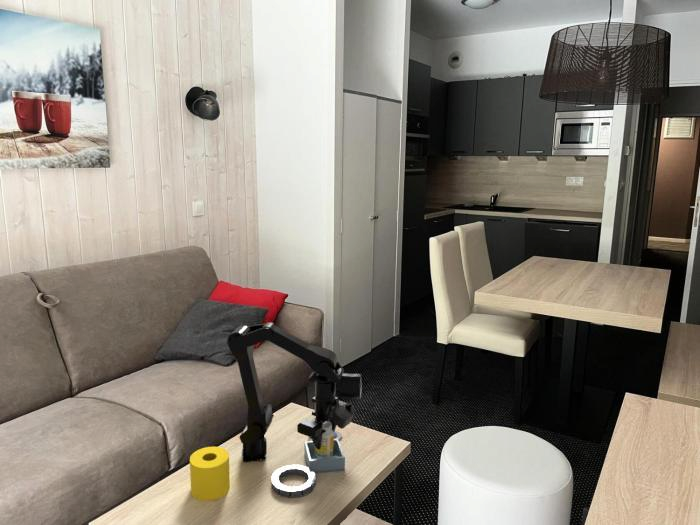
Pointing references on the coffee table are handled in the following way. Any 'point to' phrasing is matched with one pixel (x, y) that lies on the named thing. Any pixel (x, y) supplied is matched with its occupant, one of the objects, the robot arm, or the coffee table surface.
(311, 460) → the bin
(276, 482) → the socket ring
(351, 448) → the coffee table surface
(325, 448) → the supplement bottle
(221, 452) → the yellow paper roll
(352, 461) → the coffee table surface
